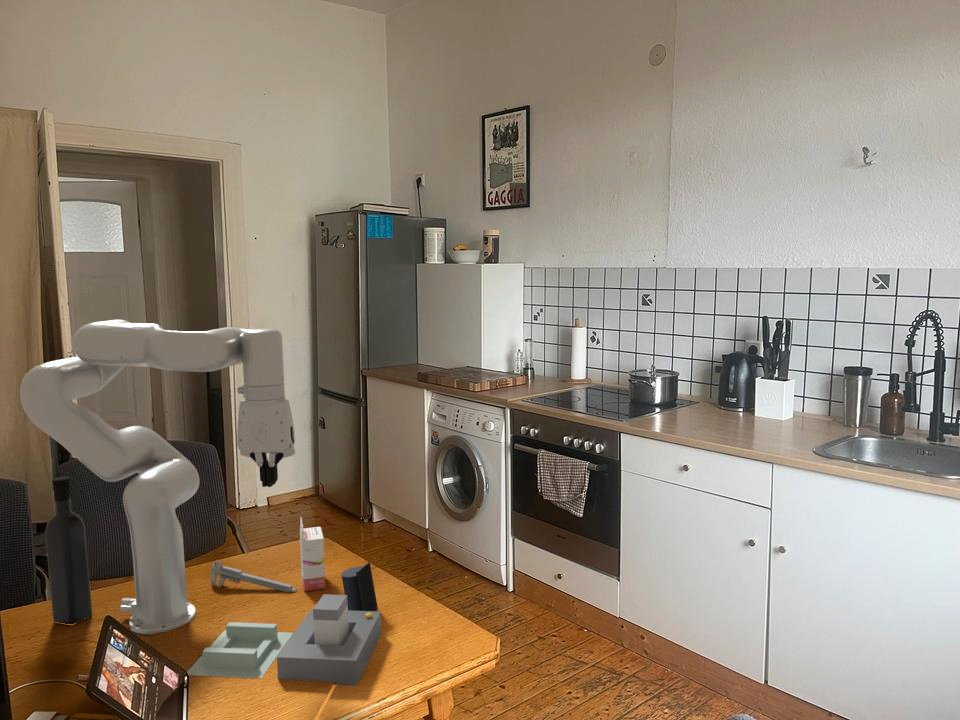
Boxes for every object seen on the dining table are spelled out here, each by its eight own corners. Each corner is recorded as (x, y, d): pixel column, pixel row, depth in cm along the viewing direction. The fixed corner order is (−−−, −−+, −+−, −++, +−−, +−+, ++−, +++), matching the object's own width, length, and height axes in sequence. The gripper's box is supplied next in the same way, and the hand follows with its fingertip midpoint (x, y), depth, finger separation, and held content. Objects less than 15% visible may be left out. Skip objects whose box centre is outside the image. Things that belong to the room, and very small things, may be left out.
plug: (315, 661, 134) (313, 609, 132) (325, 644, 140) (323, 594, 138) (339, 662, 133) (337, 610, 132) (349, 645, 139) (347, 595, 138)
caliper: (211, 587, 167) (209, 561, 167) (213, 585, 168) (211, 559, 168) (295, 593, 164) (294, 566, 163) (297, 591, 165) (296, 564, 164)
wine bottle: (50, 624, 150) (37, 481, 147) (73, 611, 156) (61, 473, 152) (72, 627, 149) (59, 483, 145) (95, 615, 154) (83, 475, 150)
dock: (278, 682, 128) (276, 653, 128) (311, 631, 146) (310, 606, 145) (356, 685, 127) (355, 657, 126) (381, 633, 145) (380, 608, 144)
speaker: (386, 609, 154) (379, 562, 153) (365, 621, 150) (358, 572, 149) (362, 603, 159) (355, 556, 158) (341, 614, 155) (334, 566, 154)
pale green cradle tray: (184, 677, 130) (183, 658, 130) (225, 632, 146) (223, 615, 145) (261, 681, 129) (260, 661, 128) (293, 635, 144) (292, 618, 144)
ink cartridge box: (326, 589, 165) (323, 525, 163) (303, 592, 164) (300, 528, 162) (322, 573, 173) (320, 513, 171) (301, 576, 172) (298, 515, 170)
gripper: (218, 396, 140) (224, 490, 142) (295, 396, 138) (299, 491, 141) (235, 389, 147) (240, 478, 150) (308, 389, 146) (312, 480, 148)
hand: (269, 484), depth 145 cm, fingers closed
